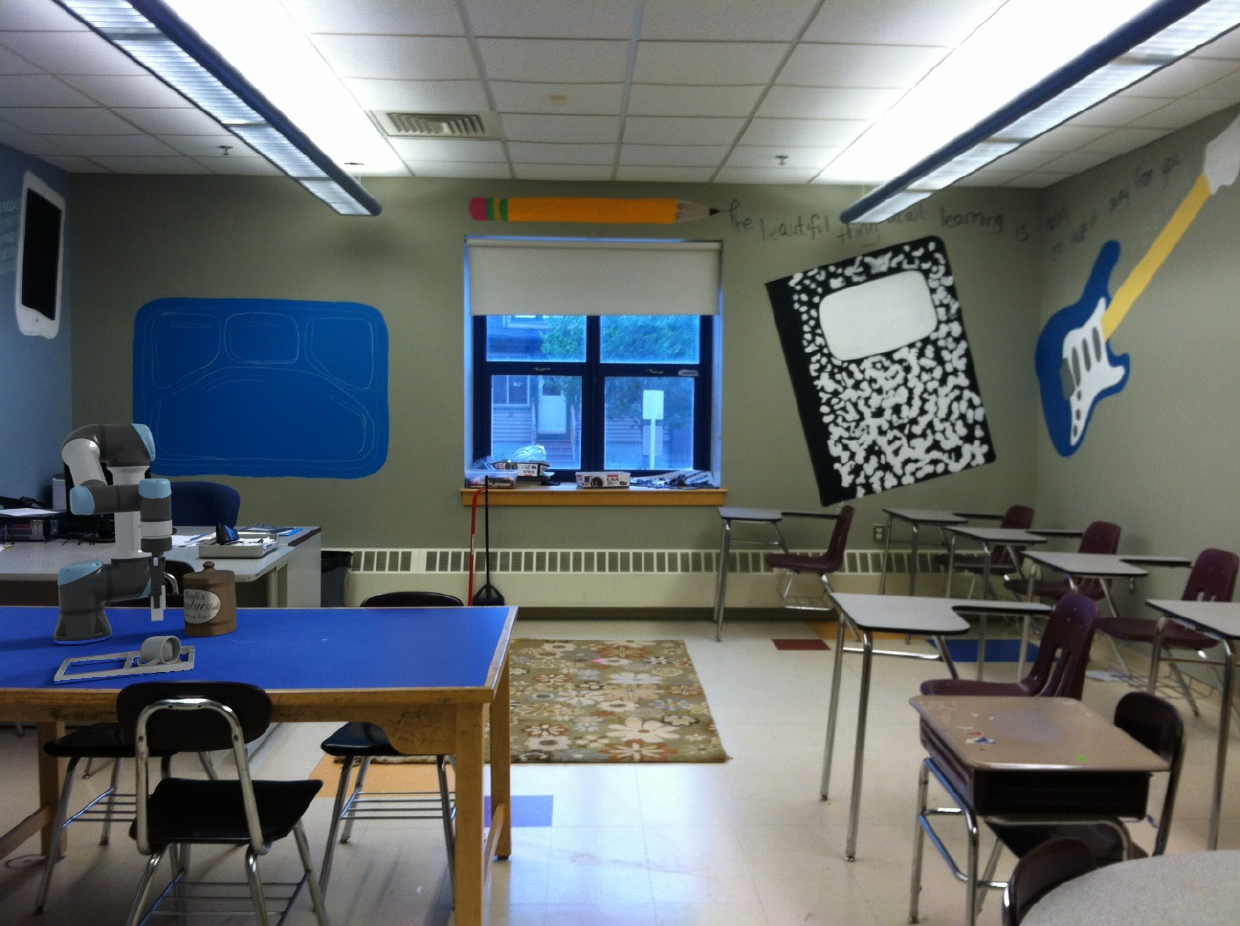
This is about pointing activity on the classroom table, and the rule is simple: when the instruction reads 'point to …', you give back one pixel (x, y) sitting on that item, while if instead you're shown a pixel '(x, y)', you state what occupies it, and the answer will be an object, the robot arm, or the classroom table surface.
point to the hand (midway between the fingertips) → (158, 614)
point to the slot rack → (126, 665)
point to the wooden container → (209, 602)
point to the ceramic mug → (159, 650)
